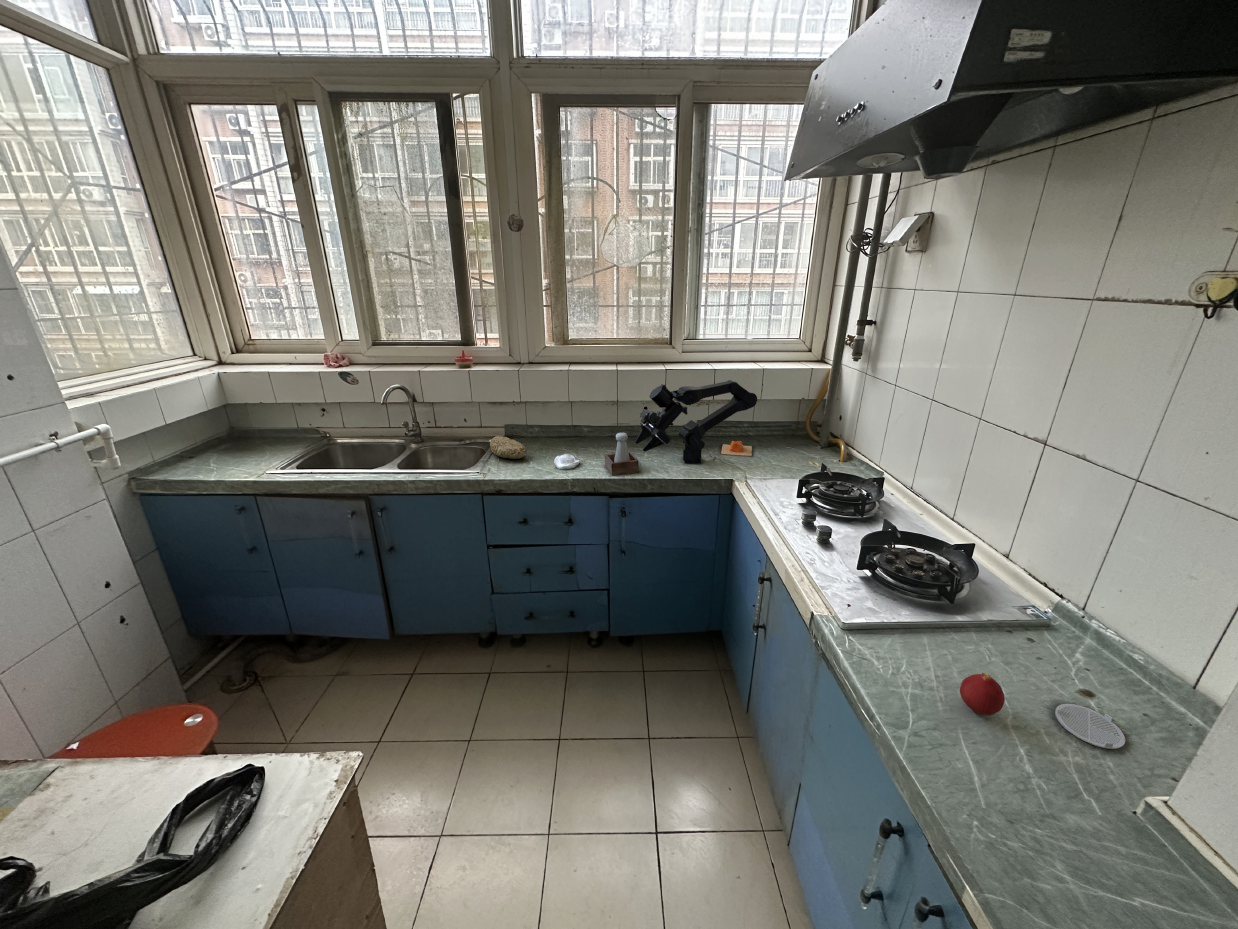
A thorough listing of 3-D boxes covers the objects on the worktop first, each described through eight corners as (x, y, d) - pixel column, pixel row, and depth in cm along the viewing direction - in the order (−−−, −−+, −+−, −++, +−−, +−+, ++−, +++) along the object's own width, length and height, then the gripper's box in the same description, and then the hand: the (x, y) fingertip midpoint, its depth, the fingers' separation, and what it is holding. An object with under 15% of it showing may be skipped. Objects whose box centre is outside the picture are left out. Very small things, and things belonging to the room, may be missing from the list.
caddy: (630, 462, 191) (630, 451, 190) (638, 472, 182) (638, 460, 180) (604, 465, 189) (604, 454, 187) (611, 475, 180) (611, 463, 178)
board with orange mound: (752, 446, 208) (753, 436, 206) (751, 456, 196) (752, 446, 195) (722, 444, 210) (723, 434, 209) (720, 453, 199) (721, 443, 198)
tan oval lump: (488, 453, 207) (492, 459, 188) (489, 434, 206) (493, 438, 187) (520, 455, 211) (527, 461, 192) (521, 436, 210) (528, 441, 192)
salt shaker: (626, 463, 189) (626, 430, 184) (632, 468, 184) (632, 434, 179) (612, 465, 187) (611, 432, 182) (617, 470, 182) (617, 436, 177)
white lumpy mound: (550, 451, 191) (574, 448, 194) (551, 462, 192) (574, 458, 196) (558, 460, 182) (583, 456, 186) (558, 471, 184) (583, 467, 188)
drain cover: (1056, 696, 85) (1058, 692, 84) (1123, 723, 80) (1125, 718, 79) (1053, 728, 79) (1055, 723, 79) (1126, 759, 74) (1128, 754, 73)
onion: (981, 697, 85) (993, 660, 82) (1006, 726, 80) (1020, 687, 77) (947, 698, 85) (958, 661, 82) (971, 727, 79) (983, 688, 77)
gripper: (645, 395, 188) (617, 426, 189) (662, 407, 171) (632, 441, 172) (664, 414, 193) (637, 444, 194) (683, 427, 176) (653, 460, 177)
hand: (639, 446), depth 184 cm, fingers open, 9 cm apart
